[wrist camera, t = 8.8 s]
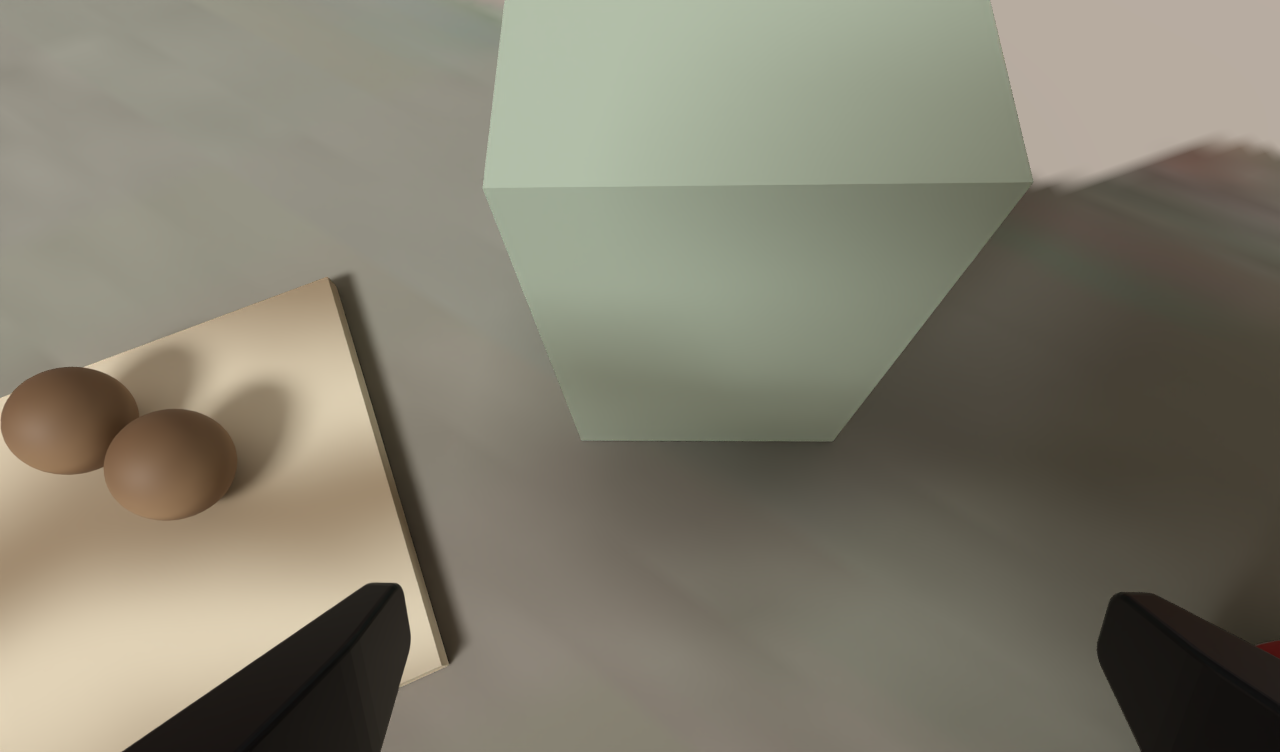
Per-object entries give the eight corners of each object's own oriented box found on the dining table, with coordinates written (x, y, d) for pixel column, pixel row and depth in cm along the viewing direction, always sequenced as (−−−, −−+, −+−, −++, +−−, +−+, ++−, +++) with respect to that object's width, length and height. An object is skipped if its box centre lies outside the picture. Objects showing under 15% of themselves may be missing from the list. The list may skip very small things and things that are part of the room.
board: (449, 665, 16) (441, 665, 16) (-38, 882, 15) (-65, 891, 14) (336, 286, 20) (327, 276, 20) (-58, 434, 19) (-79, 427, 18)
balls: (278, 448, 18) (218, 416, 15) (220, 545, 17) (146, 527, 15) (104, 376, 19) (21, 334, 16) (40, 464, 18) (-58, 434, 15)
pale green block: (832, 441, 18) (1033, 182, 8) (581, 440, 18) (483, 188, 8) (812, 227, 20) (949, -172, 11) (591, 229, 21) (523, -160, 11)
